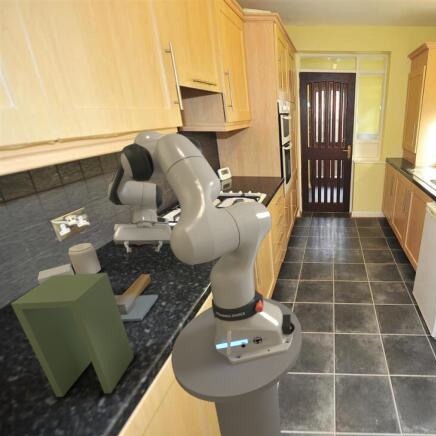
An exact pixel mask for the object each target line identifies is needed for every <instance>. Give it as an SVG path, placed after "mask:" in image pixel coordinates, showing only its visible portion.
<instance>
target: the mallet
mask: <svg viewBox="0 0 436 436" xmlns="http://www.w3.org/2000/svg"><path fill="white" fill-rule="evenodd" d="M151 282H152V279H151V274H150V273H145V274H140V275H139V276H138V278H136V279H135V280H134V282H132V284H131V285H130V286H129V287H127V289H126V291H124V292H123V293H122V294H117V295H116V294H114V297H115V300H116V303H117V306H118V309H119V312H120V315H127V314H128V313H129V312H130V311H131V310H132V309H133V307H134V306H135V305H136V303H135V300H136V298H137V297H138V296H141V294H142V292H143V291H144V290H145V289H146V288H147V287H148V285H149V284H150V283H151Z"/></svg>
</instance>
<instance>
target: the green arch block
mask: <svg viewBox="0 0 436 436" xmlns="http://www.w3.org/2000/svg"><path fill="white" fill-rule="evenodd" d="M74 274H75V275H54V276H51V277H50V278H48V279H47V280H45V281H44V282H42V283H41V284H39V283H38V285H37V286H35V287H34V288H32V289H30V290H29V291H28V292H26V293H24V294H23V295H22V296H20V297H19V298H17V299H15V300H14V301H12V302H11V303H10V305H11V307H12V309H13V311H14V313H15V315H16V318H17V319H18V321H19V323H20V326H21V328H22V330H23V332H24V334H25V336H26V337H27V340H28V342H29V345H30V346H31V348H32V350H33V352H34V354H35V356H36V359H37V360H38V362H39V364H40V366H41V368H42V371H43V372H44V374H45V376H46V378H47V380H48V382H49V385H50V387H51V388H52V390H53V393H54V394H55V396H56V398H61V397H65V396H66V394H67V393H68V391H69V390H70V389H71V388H72V386H73V385H74V384H75V382H76V381H77V380H78V379H79V378H80V376H81V375H82V374H83V373H84V371H85V370H86V369H87V368H88V366H90V364H92V366H93V368H94V371H95V374H96V376H97V378H98V381H99V383H100V386H101V389H102V391H103V394H112V393H113V391H114V390H115V388H116V387H117V385H118V383H119V381H120V380H121V378H122V377H123V375H124V373H125V372H126V370H127V369H128V368H129V366H130V364H131V362H132V361H133V359H134V358H135V356H134V352H133V349H132V346H131V343H130V341H129V338H128V334H127V330H126V328H125V325H124V322H123V321H122V318H121V315H120V312H119V309H118V306H117V303H116V300H115V297H114V295H115V294H114V291H113V288H112V287H113V286H112V284H111V282H110V278H109V275H108V273H107V272H100V273H99V272H97V273H96V274H76V273H74Z"/></svg>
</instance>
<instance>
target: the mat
mask: <svg viewBox="0 0 436 436" xmlns="http://www.w3.org/2000/svg"><path fill="white" fill-rule="evenodd" d="M158 298H159V294H145V295H139V296H138V297H137V298H136V300H135V303H136V305H135V306H134V307H133V309H132V310H131V311H130V312H129V313H128V314H127V315H121V318H122V321H123V323H127V322H141V321H143V319H144V318H145V316H146V315H147V314H148V312H149V311H150V309H151V308H152V307H153V305H154V304H155V302H156V301H157V299H158Z"/></svg>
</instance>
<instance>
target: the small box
mask: <svg viewBox="0 0 436 436" xmlns="http://www.w3.org/2000/svg"><path fill="white" fill-rule="evenodd" d="M73 269H74V268H73V266H72V265H71V263H67V264H63V265H60V266H55V267H52V268H48V269H44V270H40V271H39V272H38V276H37V282H38V285H39V284H41V283H42V282H44V281H45V280H47V279H48V278H50V277H51V276H54V275H75V274H76V273H75V271H74V270H73Z"/></svg>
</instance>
